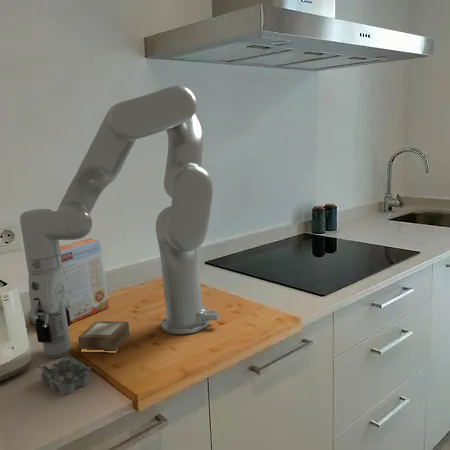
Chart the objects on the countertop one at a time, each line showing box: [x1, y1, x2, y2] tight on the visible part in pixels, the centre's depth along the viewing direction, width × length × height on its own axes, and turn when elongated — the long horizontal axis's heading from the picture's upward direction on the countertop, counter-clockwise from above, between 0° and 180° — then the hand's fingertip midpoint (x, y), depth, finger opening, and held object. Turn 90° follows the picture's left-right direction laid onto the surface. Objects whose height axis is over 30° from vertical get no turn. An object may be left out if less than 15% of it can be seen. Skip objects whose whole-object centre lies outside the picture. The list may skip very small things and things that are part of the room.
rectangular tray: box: [78, 320, 131, 351], centre depth 117 cm, size 9×9×4 cm
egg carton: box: [37, 356, 92, 396], centre depth 100 cm, size 11×8×4 cm
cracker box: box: [60, 238, 110, 322], centre depth 135 cm, size 14×6×21 cm, turn 141°
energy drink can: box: [40, 299, 72, 359], centre depth 113 cm, size 6×6×15 cm
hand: (55, 333), depth 113 cm, fingers open, 8 cm apart
